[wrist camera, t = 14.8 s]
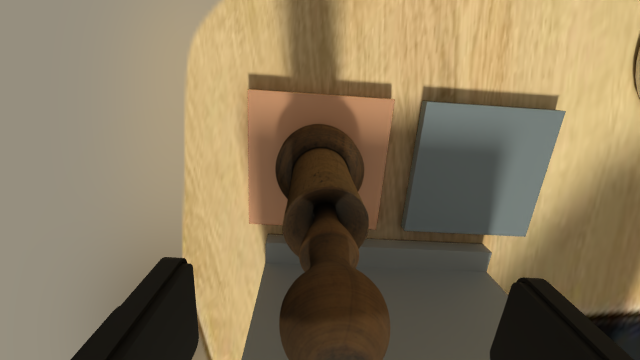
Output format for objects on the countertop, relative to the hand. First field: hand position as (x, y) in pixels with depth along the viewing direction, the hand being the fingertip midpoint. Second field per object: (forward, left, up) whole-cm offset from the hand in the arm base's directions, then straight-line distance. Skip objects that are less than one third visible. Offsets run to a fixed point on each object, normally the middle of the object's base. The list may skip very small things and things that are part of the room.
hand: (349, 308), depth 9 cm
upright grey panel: (-5, +10, -17) cm, 21 cm away
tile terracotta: (+1, 0, -17) cm, 17 cm away
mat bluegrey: (-13, 0, -17) cm, 21 cm away
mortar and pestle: (0, 0, -16) cm, 16 cm away
